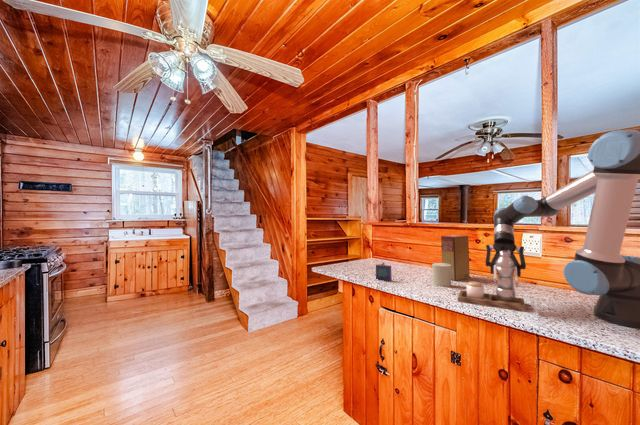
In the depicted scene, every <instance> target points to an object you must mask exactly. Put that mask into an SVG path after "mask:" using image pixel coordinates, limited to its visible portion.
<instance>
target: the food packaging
mask: <svg viewBox="0 0 640 425" xmlns="http://www.w3.org/2000/svg"><path fill="white" fill-rule="evenodd" d="M440 237H441V238H440V239H441V241H440V242H441V245H440V246H441V263H447V264H450V265H451V281H454V282H457V281H463V280H468V279H470V278H471V277H470V276H471V275H470V250H469V248H470V247H469V235H466V234H465V235H462V234H450V235H441V236H440Z"/></svg>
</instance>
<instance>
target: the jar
mask: <svg viewBox="0 0 640 425" xmlns="http://www.w3.org/2000/svg"><path fill="white" fill-rule="evenodd" d="M484 289H485V288H484V285H483V284H482V282H479V281H473V280H471V281H468V282H467V283H466V291H467V297H468V298H475V299H482V300H484V293H485V291H484Z"/></svg>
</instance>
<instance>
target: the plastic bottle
mask: <svg viewBox="0 0 640 425" xmlns="http://www.w3.org/2000/svg"><path fill="white" fill-rule="evenodd" d="M499 255H500V257H499V258H498V259H497V261H496V263H495V265H496V290H495V293H496V294H495V295H497V297H498V298H500V299H503V300H514V299H515V297H516V295H517V294H516V289H515V273H514V267H515V264H514V262H513V260H512V259H511V258H510V256H511V252H510V251H500V254H499Z"/></svg>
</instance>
